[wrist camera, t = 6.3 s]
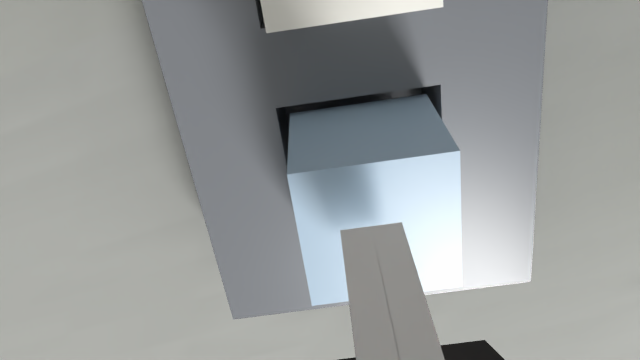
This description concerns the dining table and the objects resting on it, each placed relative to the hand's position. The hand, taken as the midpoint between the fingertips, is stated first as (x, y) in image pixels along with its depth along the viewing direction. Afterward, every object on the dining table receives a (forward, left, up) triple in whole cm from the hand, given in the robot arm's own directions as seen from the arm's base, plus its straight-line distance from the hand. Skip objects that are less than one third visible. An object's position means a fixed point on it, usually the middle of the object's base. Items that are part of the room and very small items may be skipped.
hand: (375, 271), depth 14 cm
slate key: (0, 0, -6) cm, 6 cm away
